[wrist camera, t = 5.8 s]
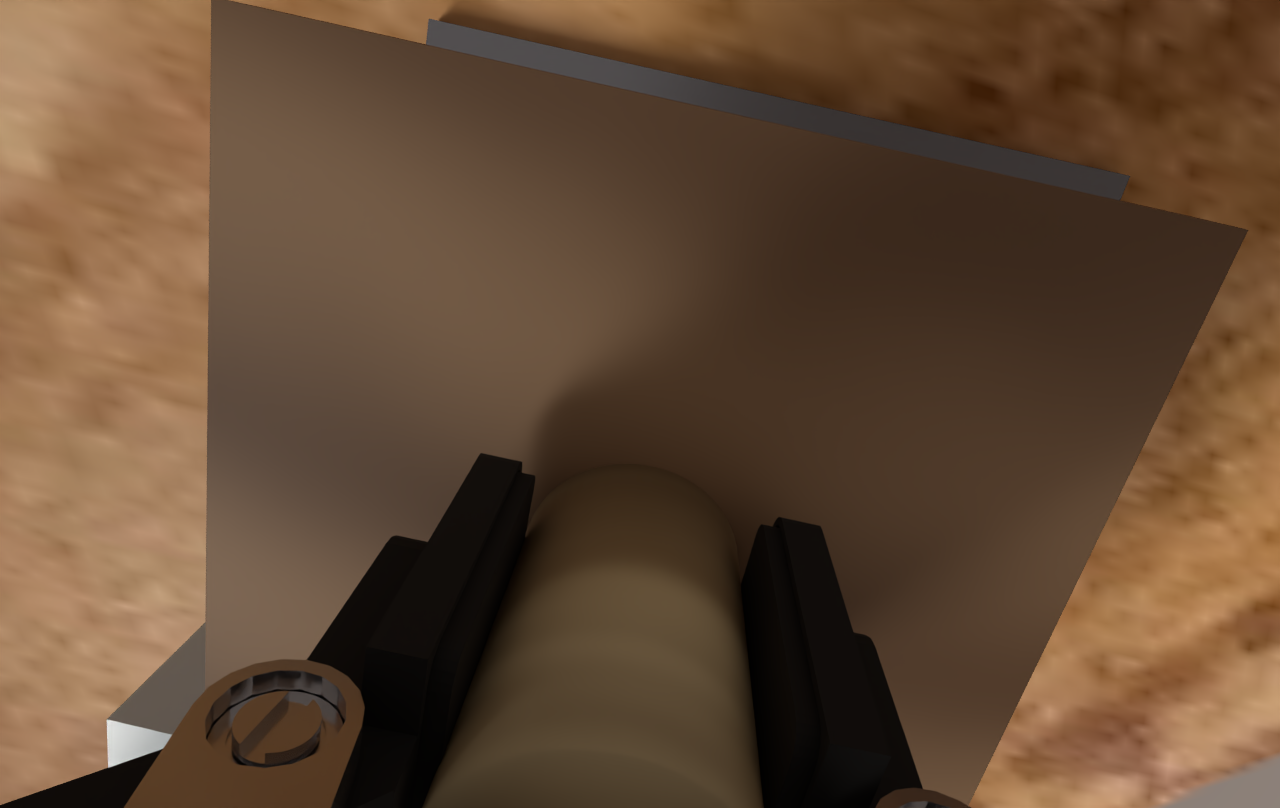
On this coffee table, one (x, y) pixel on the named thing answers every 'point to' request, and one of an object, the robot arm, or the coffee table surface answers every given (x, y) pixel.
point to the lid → (658, 395)
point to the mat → (777, 110)
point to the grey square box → (158, 704)
